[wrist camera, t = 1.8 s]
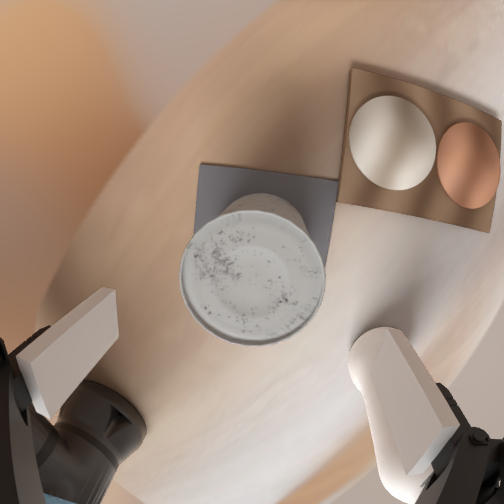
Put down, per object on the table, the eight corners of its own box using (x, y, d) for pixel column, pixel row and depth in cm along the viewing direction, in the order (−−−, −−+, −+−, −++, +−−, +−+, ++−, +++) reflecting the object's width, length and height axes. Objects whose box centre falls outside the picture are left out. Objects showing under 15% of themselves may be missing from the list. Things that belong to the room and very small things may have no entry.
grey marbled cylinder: (288, 179, 29) (296, 186, 18) (319, 266, 32) (342, 322, 20) (200, 213, 31) (155, 241, 19) (235, 295, 33) (214, 360, 21)
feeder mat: (191, 292, 34) (190, 292, 34) (200, 164, 30) (199, 164, 30) (315, 309, 33) (315, 309, 33) (338, 181, 29) (338, 181, 29)
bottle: (342, 332, 34) (413, 594, 5) (405, 315, 33) (537, 529, 4) (348, 382, 36) (394, 602, 7) (405, 367, 34) (492, 561, 6)
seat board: (335, 200, 30) (339, 202, 28) (349, 71, 26) (353, 66, 24) (483, 231, 29) (491, 234, 27) (496, 121, 25) (504, 120, 23)
